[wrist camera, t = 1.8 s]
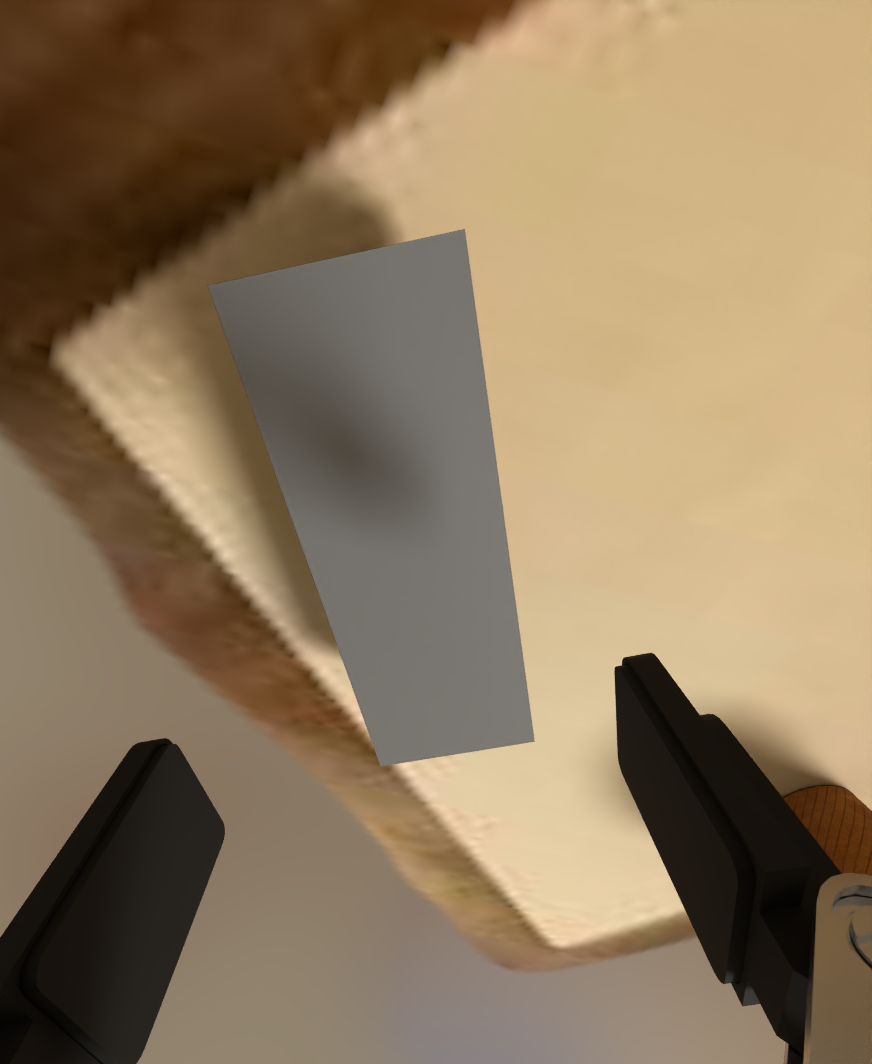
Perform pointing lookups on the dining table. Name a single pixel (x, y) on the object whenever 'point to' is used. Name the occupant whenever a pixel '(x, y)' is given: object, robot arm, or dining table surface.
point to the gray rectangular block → (392, 484)
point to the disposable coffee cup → (837, 825)
